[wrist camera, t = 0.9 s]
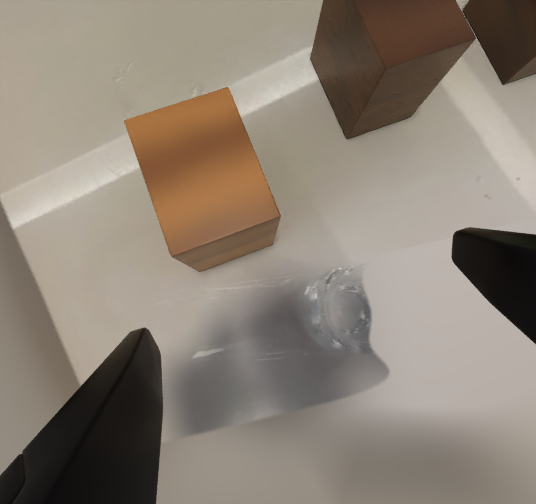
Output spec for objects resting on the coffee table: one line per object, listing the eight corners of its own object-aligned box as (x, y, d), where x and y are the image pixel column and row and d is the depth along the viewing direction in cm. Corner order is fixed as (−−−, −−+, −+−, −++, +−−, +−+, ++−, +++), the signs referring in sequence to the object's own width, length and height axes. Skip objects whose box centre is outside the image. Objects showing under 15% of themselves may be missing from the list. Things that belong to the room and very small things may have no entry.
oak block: (272, 244, 24) (281, 216, 16) (199, 272, 24) (171, 256, 16) (237, 153, 25) (228, 86, 17) (165, 178, 25) (123, 119, 17)
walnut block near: (411, 116, 26) (477, 38, 19) (346, 139, 26) (386, 68, 18) (372, 38, 28) (419, -68, 20) (309, 58, 27) (332, -43, 19)
